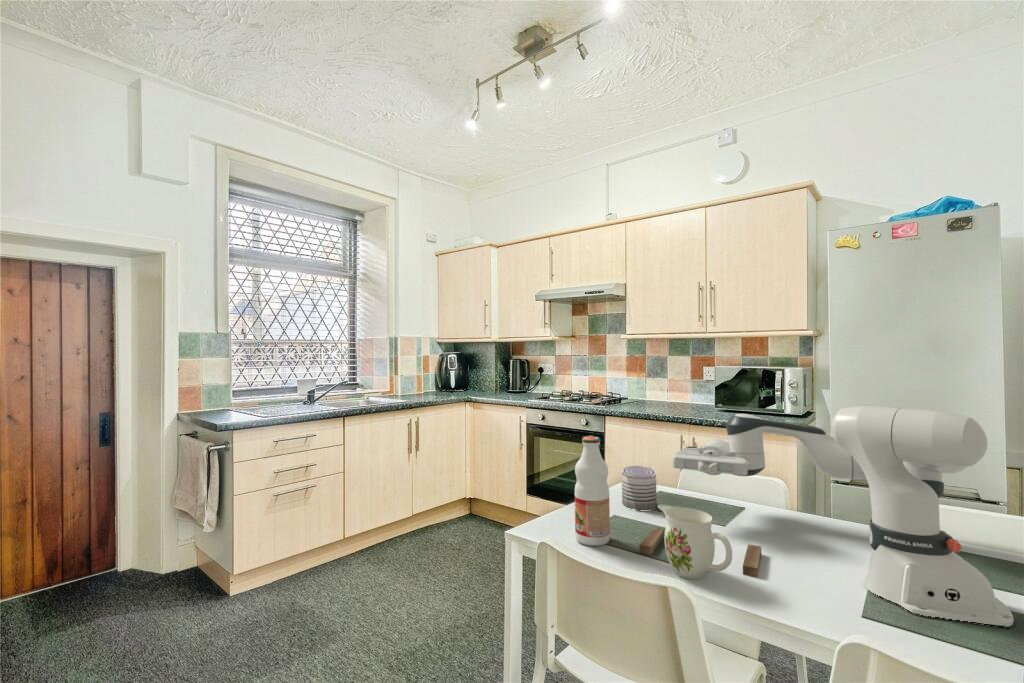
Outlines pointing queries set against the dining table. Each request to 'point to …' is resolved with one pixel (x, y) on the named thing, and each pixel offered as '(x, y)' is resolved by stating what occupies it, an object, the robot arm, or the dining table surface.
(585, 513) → the fruit juice
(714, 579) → the dining table surface
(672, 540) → the pitcher
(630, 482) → the can
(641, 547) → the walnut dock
